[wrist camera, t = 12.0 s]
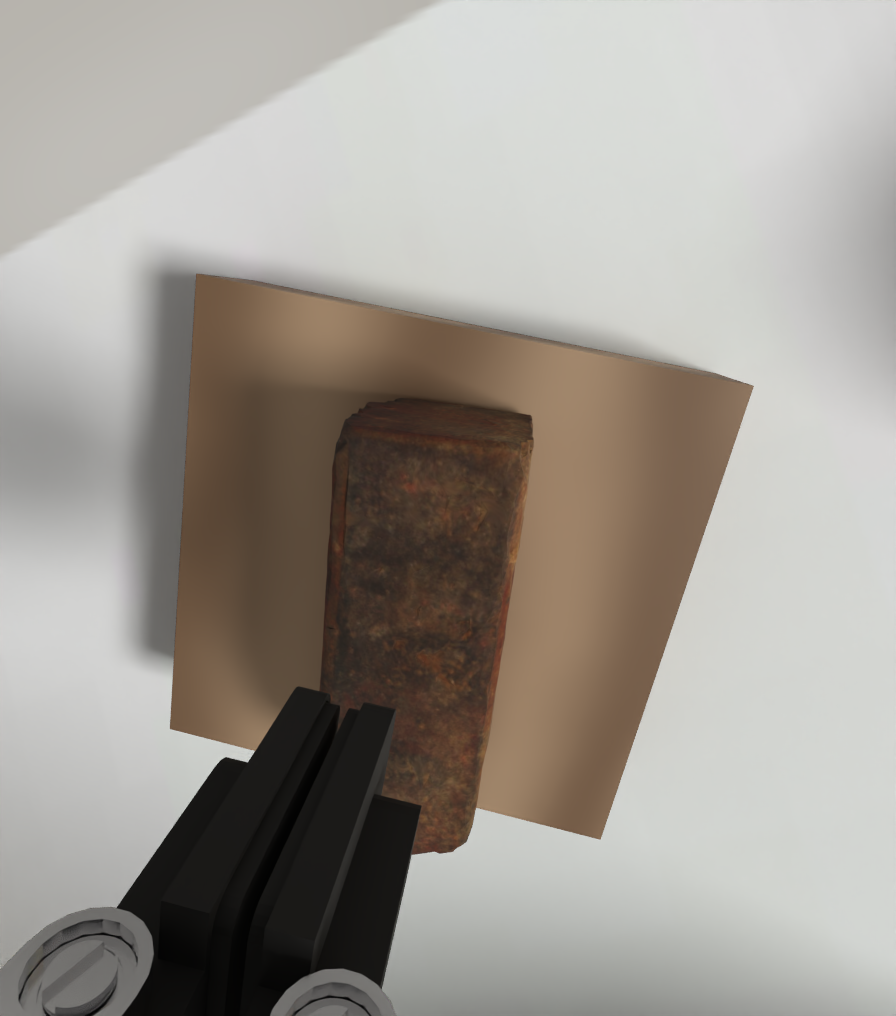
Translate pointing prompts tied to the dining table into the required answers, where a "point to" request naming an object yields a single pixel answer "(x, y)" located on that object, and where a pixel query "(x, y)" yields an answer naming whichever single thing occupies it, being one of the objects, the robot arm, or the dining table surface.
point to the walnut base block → (544, 538)
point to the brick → (425, 590)
